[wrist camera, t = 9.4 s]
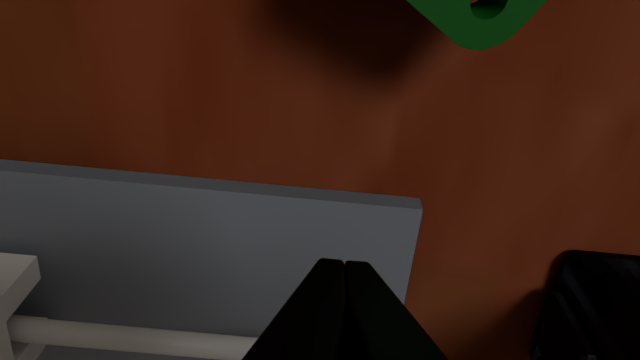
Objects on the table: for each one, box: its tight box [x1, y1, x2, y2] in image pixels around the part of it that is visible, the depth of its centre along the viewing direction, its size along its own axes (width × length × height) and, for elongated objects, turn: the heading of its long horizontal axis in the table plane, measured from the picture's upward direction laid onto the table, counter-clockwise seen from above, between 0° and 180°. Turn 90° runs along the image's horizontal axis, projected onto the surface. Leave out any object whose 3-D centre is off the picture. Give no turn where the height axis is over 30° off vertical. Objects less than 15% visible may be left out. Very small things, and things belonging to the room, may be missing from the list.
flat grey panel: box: [0, 159, 423, 360], centre depth 23 cm, size 26×12×5 cm, turn 85°
